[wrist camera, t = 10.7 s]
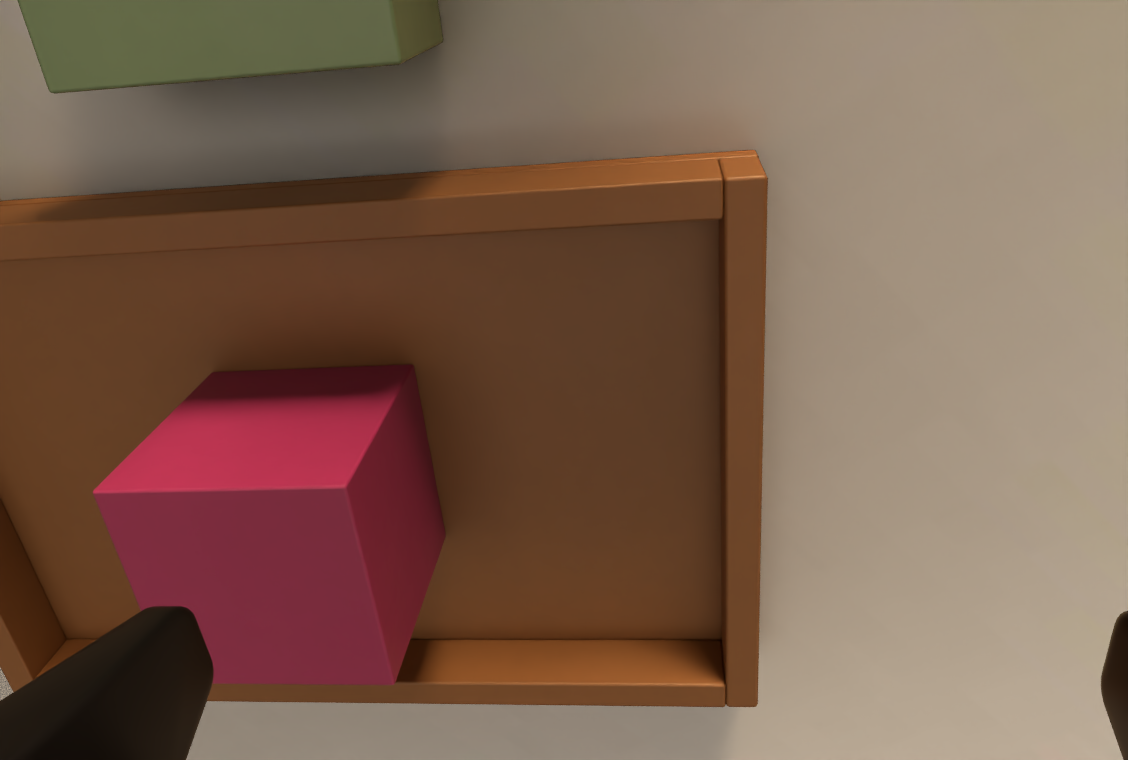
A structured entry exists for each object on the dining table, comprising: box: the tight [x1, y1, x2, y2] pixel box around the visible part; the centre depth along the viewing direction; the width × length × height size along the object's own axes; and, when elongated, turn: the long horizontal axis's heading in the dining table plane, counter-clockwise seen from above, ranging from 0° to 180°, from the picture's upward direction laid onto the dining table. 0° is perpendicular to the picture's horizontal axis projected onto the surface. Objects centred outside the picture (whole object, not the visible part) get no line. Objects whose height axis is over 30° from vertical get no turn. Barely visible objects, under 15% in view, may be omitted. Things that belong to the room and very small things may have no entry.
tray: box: [0, 150, 768, 707], centre depth 21 cm, size 21×14×2 cm, turn 95°
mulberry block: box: [93, 364, 446, 685], centre depth 19 cm, size 5×5×5 cm
